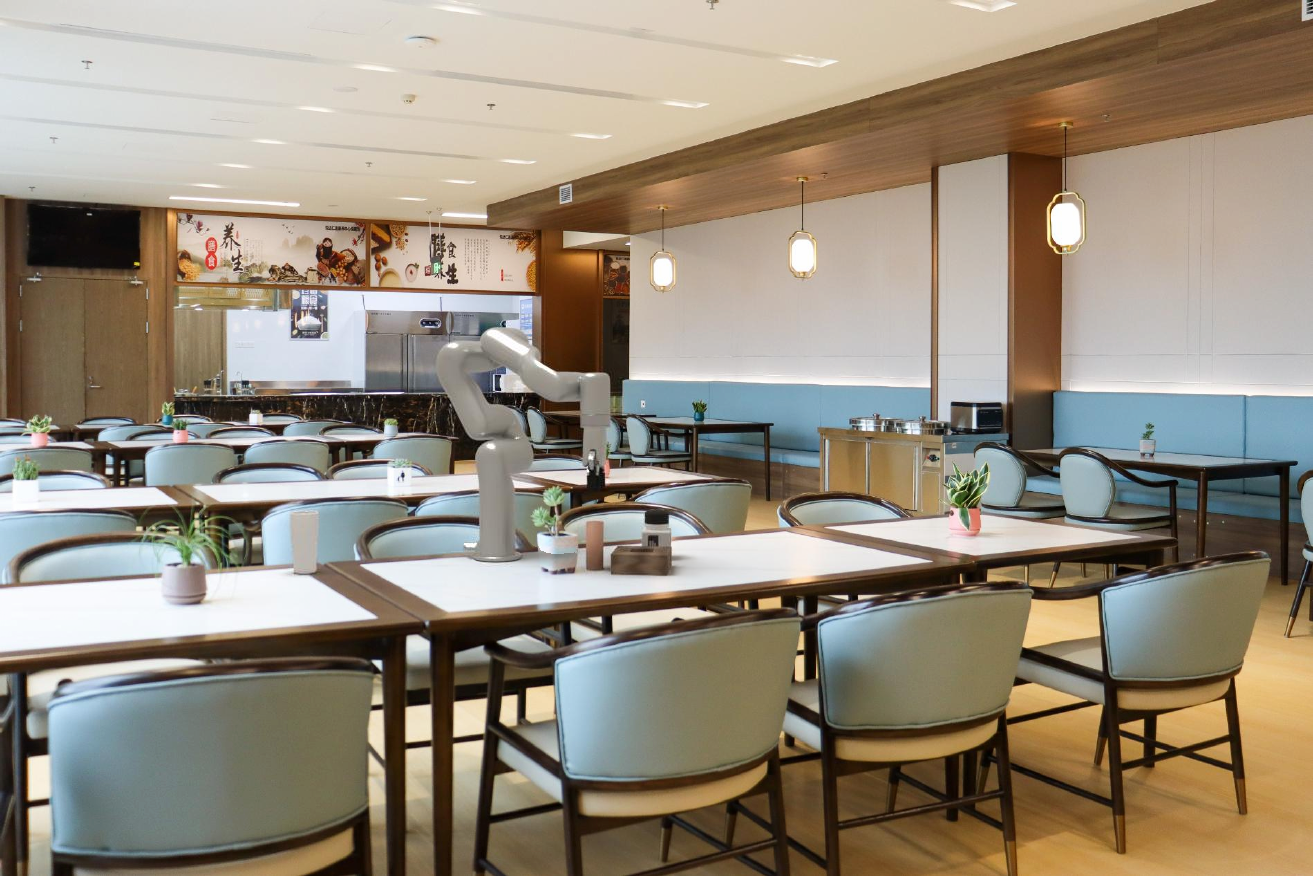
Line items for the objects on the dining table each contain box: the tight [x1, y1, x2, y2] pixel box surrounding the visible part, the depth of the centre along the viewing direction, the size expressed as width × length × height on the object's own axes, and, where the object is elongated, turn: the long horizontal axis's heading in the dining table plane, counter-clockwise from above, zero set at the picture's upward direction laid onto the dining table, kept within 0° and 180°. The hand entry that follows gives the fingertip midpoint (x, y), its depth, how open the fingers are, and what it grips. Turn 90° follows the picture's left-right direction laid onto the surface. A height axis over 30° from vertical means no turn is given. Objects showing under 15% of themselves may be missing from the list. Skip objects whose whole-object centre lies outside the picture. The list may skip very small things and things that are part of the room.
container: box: [641, 508, 672, 547], centre depth 311 cm, size 8×8×13 cm
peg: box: [585, 520, 605, 572], centre depth 293 cm, size 4×4×12 cm
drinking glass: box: [289, 510, 320, 575], centre depth 285 cm, size 7×7×15 cm
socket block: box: [610, 545, 673, 576], centre depth 292 cm, size 14×14×5 cm
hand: (596, 489), depth 292 cm, fingers open, 9 cm apart
